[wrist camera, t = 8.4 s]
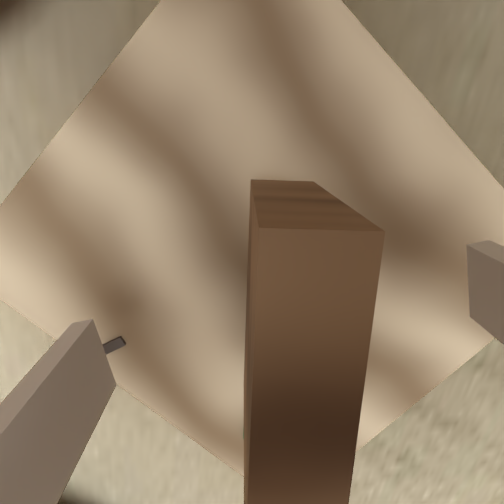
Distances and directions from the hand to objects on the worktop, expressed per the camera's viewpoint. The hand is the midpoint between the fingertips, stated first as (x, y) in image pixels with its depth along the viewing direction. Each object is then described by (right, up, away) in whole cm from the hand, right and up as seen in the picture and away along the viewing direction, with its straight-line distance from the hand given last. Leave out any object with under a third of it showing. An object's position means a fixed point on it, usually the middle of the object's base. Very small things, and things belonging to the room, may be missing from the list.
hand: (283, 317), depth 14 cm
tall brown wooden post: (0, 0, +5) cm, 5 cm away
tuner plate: (0, +2, +7) cm, 7 cm away
